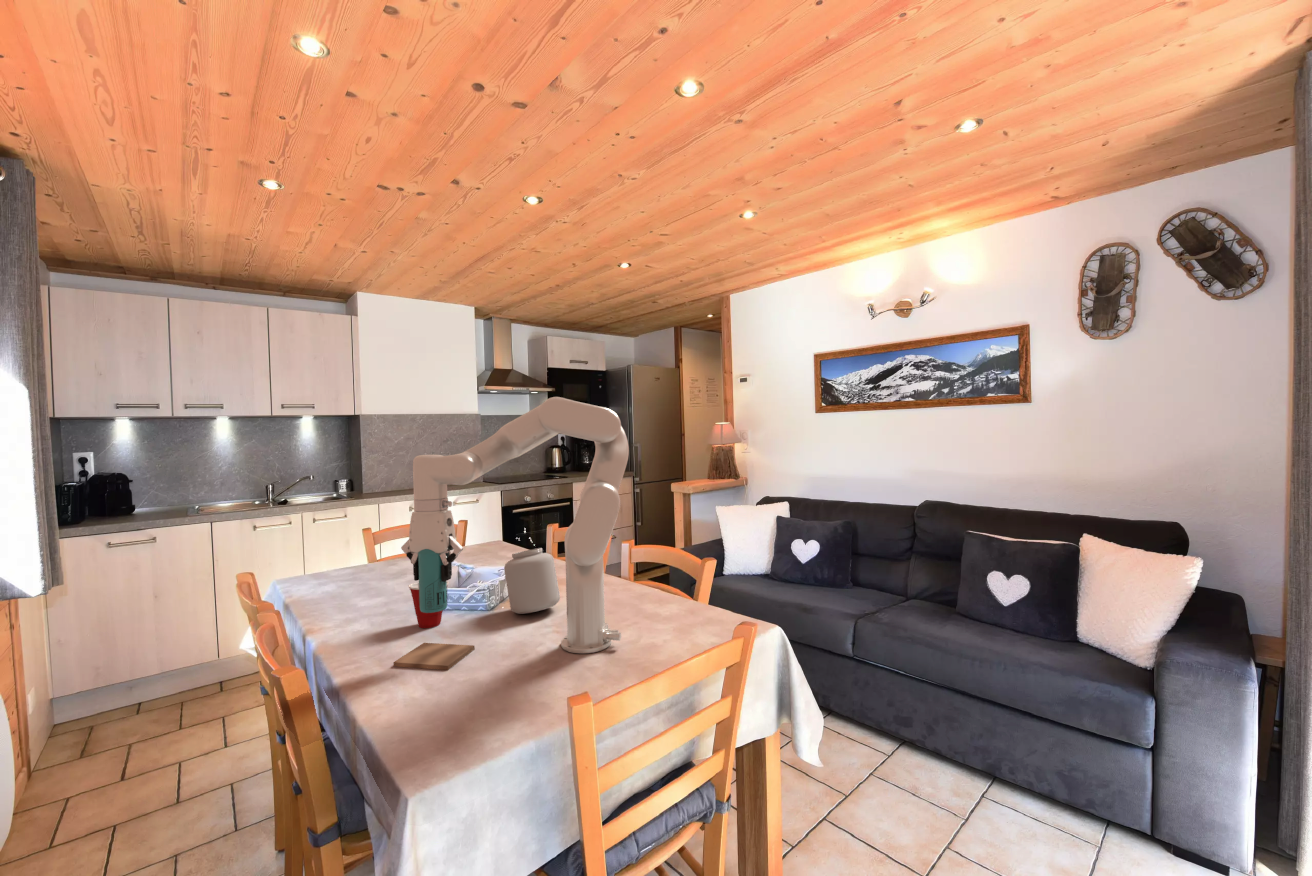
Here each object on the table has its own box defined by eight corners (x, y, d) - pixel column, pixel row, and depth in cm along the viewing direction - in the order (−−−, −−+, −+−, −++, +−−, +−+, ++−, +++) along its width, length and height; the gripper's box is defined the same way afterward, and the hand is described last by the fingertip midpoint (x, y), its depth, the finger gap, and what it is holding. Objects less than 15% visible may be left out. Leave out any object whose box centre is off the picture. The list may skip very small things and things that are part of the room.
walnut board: (474, 649, 140) (474, 645, 140) (448, 670, 128) (447, 665, 128) (424, 646, 143) (423, 642, 143) (393, 666, 131) (393, 662, 131)
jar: (491, 612, 169) (488, 529, 168) (528, 599, 181) (526, 522, 180) (532, 624, 157) (530, 535, 157) (570, 609, 169) (568, 527, 169)
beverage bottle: (438, 620, 131) (436, 535, 131) (412, 618, 133) (410, 534, 132) (453, 611, 138) (451, 530, 137) (429, 609, 139) (427, 529, 139)
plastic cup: (456, 618, 164) (455, 577, 163) (439, 631, 153) (437, 588, 153) (421, 617, 165) (420, 577, 164) (401, 631, 154) (400, 587, 154)
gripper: (472, 504, 137) (473, 576, 137) (408, 503, 140) (410, 574, 140) (455, 508, 129) (457, 585, 130) (388, 507, 133) (390, 582, 133)
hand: (432, 579), depth 135 cm, fingers closed on beverage bottle, 6 cm apart
